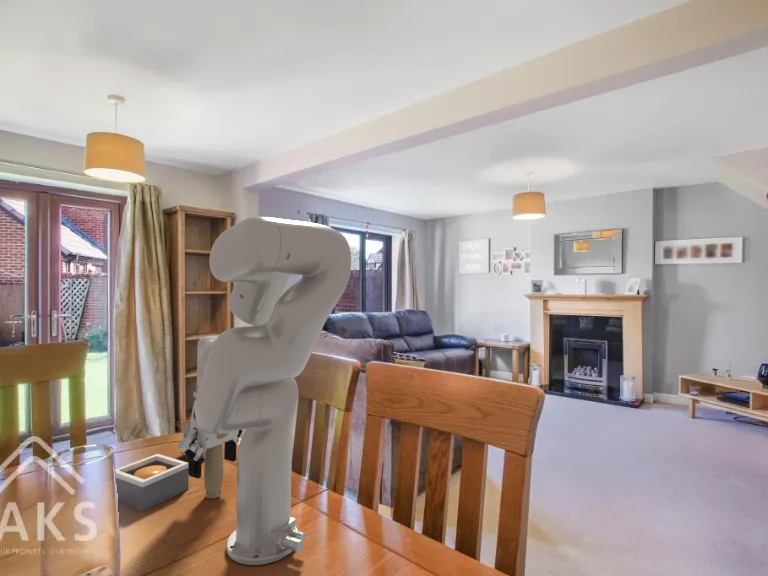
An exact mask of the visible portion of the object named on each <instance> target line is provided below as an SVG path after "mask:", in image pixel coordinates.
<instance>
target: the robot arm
mask: <svg viewBox="0 0 768 576" xmlns="http://www.w3.org/2000/svg"><path fill="white" fill-rule="evenodd" d="M208 264H209V269H210V272H211V274H212V276H213V277H214V278H215V279H216V280H218V281H219V282H224V283H234V285H233V288H232V291H231V293H230V295H229V298H228V308H229V310H230V311H231V313H232V314H233V315H234V316H235V317H236V318H237V319H238V320H240V321H242V322H244V323H245V324H247V325H249V326H239V327H234V328H233V327H232V328H229V329H226V330H224V331H223V332H221V333H220V334H219V335H206V336H203V337H201V338H200V339H199V340H198V342H197V347H196V348H197V352H196V353H197V354H196V355H197V356H196V357H197V358H196V364H197V365H196V391H193V394H192V395H193V398H194V399H195V400H194V402H193V405H192V409H191V410H192V411H191V415H190V423H191V424H190V423H189V424H190V432H189V433H188V434H187V435H186V436H185V437H184V436H183V438H182V439H181V440H180V441H179V442H178V443H177V447H178V448H179V450H180V453H181V455H183V456H185V458H186V459H188V463H189V465H188V472H189V477H191V478H193V479H194V478H195V479H197V480H199V479H200V478H201V477H202V462H203V460H202V458H200V459H199V457H200V456H201V454H202V452H203V450H204V449H205V450H206V449H210V448H213V447H216V446H218V445H220V444H222V445H223V444H224V451H223V452H224V453H223V454H224V455H223V459H224V460H226V461H230V462H233V463H234V462H237V464H236V465H237V468H236V470H237V471H236V473H237V474H236V520H235V522H236V523H235V524H236V528H235V530H234V531H233V532H231V534H230V535H229V537H228V538H227V541H226V553H227V555H228V557H229V558H230V559H232V560H233V561H235V562H236V563H239V564H241V565H248V566H261V565H266V564H267V565H268V564H271V563H275V562H277V561H279V560H282V559H284V558H286V557H287V556H289V554H291V553H293V552H295V553H297V554H299V553H301V551H302V550H303V547H304V541H305V540H306V536H307V533H306V532H304V531H301V530H298V528H297V527H296V518H294V517H291V515H292V514H291V511H292V510H291V503H292V457H293V455H292V453H293V450H292V449H293V432H294V422H295V416H296V412H297V407H298V402H299V387H298V383H297V381H296V379H295V378H297V377H298V376H299V375H300V374H302V372H303V371H304V369H305V367H306V366H307V363H308V362H309V359H310V358H311V356H312V353H313V351H314V349H315V346H316V344H317V342H318V340H319V338H320V336H321V334H322V331H323V328H324V325H325V324H326V322H327V321H328V318H329V316H331V313H332V312H333V310H334V308H335V307H336V306H337V304H338V302H339V301H340V299H341V298H342V295H344V293H345V290H346V288H347V285H348V282H349V280H350V276H351V273H352V272H351V271H352V253H351V247H350V245H349V242H348V240H347V238H346V237H345V235H344V234H342V233H341V232H340V231H338V230H336V229H334V228H333V227H330V226H327V225H324V224H320V223H314V222H308V221H302V220H301V221H300V220H293V219H292V220H291V219H283V218H276V217H269V216H249V217H247V218H244V219H243V220H242V221H239V222H238V223H236V224H234V225H232V226H230V227H229V228H227V229H225V230H224V231H222V232H221V233H220V234H219V235H218V237H216V239H215V241H214V243H213V244H212V246H211V250H210V252H209V263H208ZM291 275H292V276H293V275H294V276H301V278H300V279H299V280H298V281H297V282H295V283H294V284H293V285H291V286H290V287H289V288H287V289H286V291H284V288H285V287H286V285H287V282H288V280H289V278H290V276H291ZM283 291H284V292H283ZM250 325H251V326H250ZM243 430H245V431H244V433H243ZM224 433H228V435H227V436H226V437H224V438H222V439H217V434H224ZM241 435H242V437H241ZM240 437H241V439H240ZM238 443H239V444H238ZM189 444H191V447H190V449H189ZM237 444H238V448H237ZM196 448H198V449H197V451H196V453H194V452H195V450H196Z"/></svg>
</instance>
